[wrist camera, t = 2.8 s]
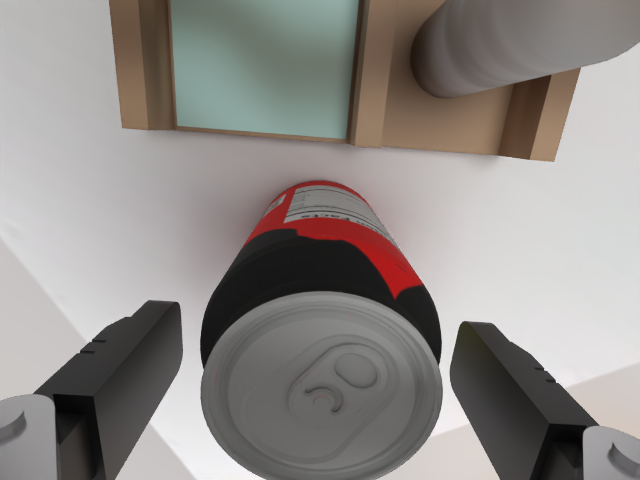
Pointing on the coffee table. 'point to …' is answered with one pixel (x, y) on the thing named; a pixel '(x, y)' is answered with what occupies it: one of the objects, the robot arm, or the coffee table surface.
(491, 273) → the coffee table surface
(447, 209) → the coffee table surface
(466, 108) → the wooden divided tray
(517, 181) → the coffee table surface
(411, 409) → the beverage can
